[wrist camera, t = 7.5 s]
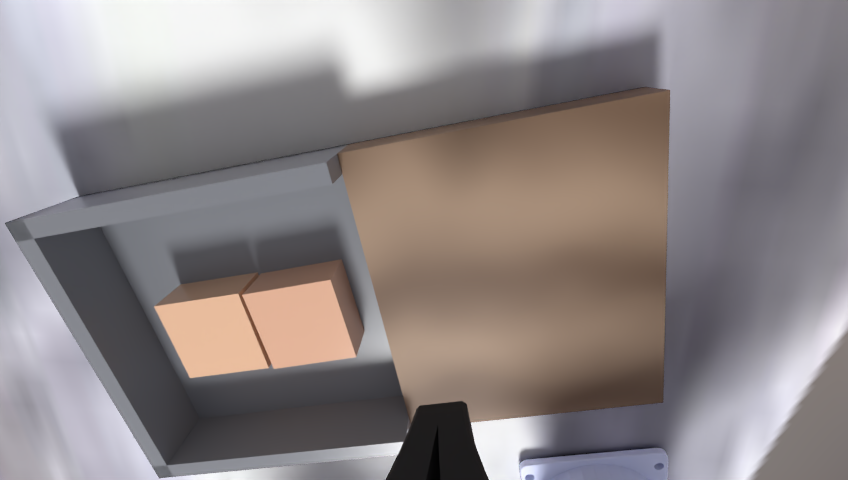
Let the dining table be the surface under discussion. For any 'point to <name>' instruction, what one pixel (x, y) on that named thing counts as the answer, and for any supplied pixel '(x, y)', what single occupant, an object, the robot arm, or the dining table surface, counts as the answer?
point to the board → (522, 255)
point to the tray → (205, 260)
